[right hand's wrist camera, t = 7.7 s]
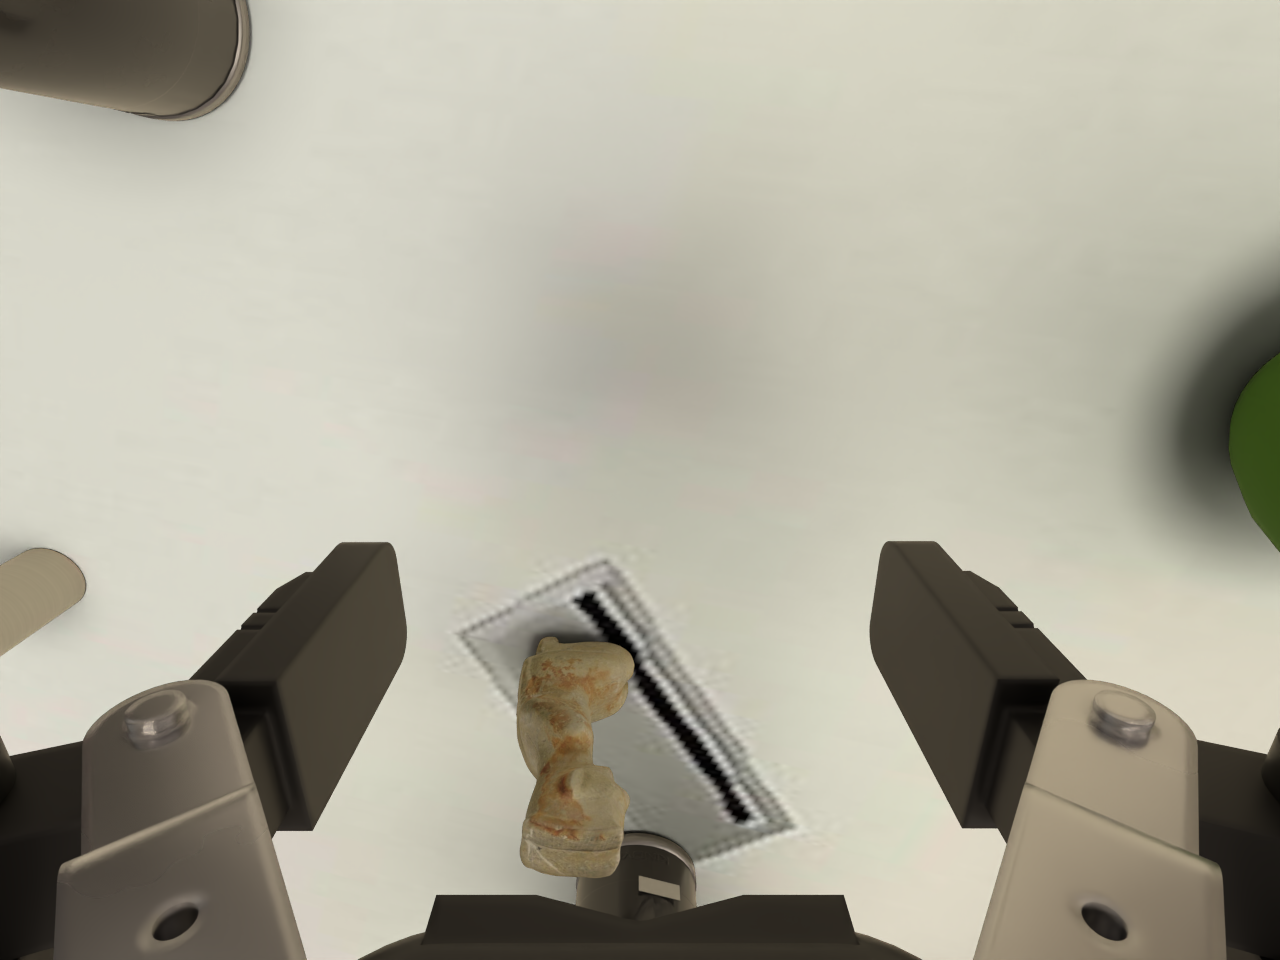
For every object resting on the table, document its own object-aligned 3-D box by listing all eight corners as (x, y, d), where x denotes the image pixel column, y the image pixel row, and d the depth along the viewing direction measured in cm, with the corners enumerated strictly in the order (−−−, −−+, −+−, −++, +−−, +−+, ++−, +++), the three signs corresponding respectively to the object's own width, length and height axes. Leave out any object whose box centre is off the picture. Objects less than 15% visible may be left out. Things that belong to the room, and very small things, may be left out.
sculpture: (622, 702, 47) (614, 908, 33) (520, 683, 47) (469, 885, 33) (640, 634, 45) (640, 824, 31) (534, 613, 45) (486, 798, 31)
